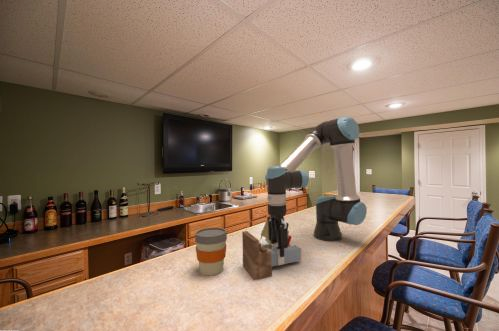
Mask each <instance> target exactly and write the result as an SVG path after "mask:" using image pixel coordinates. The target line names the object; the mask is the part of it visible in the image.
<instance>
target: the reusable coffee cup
mask: <svg viewBox="0 0 499 331" xmlns="http://www.w3.org/2000/svg"><path fill="white" fill-rule="evenodd" d="M194 234H195V235H194V242H195V245H196V246H195V253H196V259H197V261H198V266H199V272H200V274H201V275H204V276H209V277H210V276H215V275H216V276H217V275H218V274H220V273H222V272H223V271H224V264H225V263H224V262H225V259H226V253H227V240H228V236H227V230H226V229H225V228H222V227H206V228H202V229H201V228H200V229H199V230H197V231H196V232H195V233H194Z"/></svg>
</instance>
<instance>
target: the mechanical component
mask: <svg viewBox="0 0 499 331" xmlns="http://www.w3.org/2000/svg"><path fill="white" fill-rule="evenodd" d="M289 233H290V231H289V230H288V246H289V245H290V243H291V241H292V236H291V235H290V234H289ZM262 238H265V239H264V241H265V242H267V244H268V245H269V246H270V245H271V246H272V243H271V241H269V237H268V220H267V219H266V221H265V223H264V226H263V228H262V230H261V232H260V239H259V242H260V243H261V240H262ZM277 241H278V239H277ZM277 243H278V242H277Z"/></svg>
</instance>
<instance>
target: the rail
mask: <svg viewBox="0 0 499 331" xmlns="http://www.w3.org/2000/svg"><path fill="white" fill-rule="evenodd" d="M269 250H270V251H271V257H272V268H273V267H277V266H279V265H278V264H277V249H272V248H271V249H269ZM300 261H302V248H301V247H300V246H298V245H290V246H288V248H284V264H283V265H286V264H290V263H296V262H300Z"/></svg>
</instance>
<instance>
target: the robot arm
mask: <svg viewBox="0 0 499 331" xmlns="http://www.w3.org/2000/svg"><path fill="white" fill-rule="evenodd" d="M359 135H360V127H359V124H358V123H357V121H356V119H354V117H351V116H342V117H338V118H335V119H330V120H326V121H323V122H321V123H319V124H318V125H316V126H315V127H314V128H312V129H311V130H310V131H309V132H308V133H307V134H306V135H305V136H304V140H303V141H301V143H300V144H299V145H298V146H297V147H296V148H295V149H294V150H293V151H292V152H291V153H290V154H289V155H287V157H286V158H284V160H283V161H282V162H281V163H280V164H279V165H278V166H268V167H267V171H266V174H265V176H264V180H265V182H266V184H267V185H266V186H267V188H266V189H267V197H266V199H267V204H268V205H267V213H268V215H270V216H267V217H266V221H267V220H268V237H269V241H271V243H272V245H271V249H277V264H278V265H277V266H281V265H285V264H284V248H288V235H289V234H288V231H289V223H288V222H286V221H285V215H286V214H287V205H286V204H287V190H288V189H301V188H306V187H307V186H308V184H309V182H310V178H309V177H310V176H309V173H307V171H304V170H299V169H298V168H299V166H301V165H302V164H303V162H305V161H306V159H307V158H308V157H309V156H310V155H311V154H312V153H313V152H314V151H315V150H316V149H319V148H320V147H321V146H323V145H325V144H329V147H330V148H332V149H333V157H334V168H335V176H336V186H337V187H336V188H337V195H326V196H325V195H324V196H318V197H317V198H316V200H315V215H316V217H315V218H316V219H315V220H316V223H315V226H314V230H313V237H314V238H315V239H318V240H320V241H328V242H335V241H337V242H338V241H340V240H342V238H343V234H342V232H341V228H340V225H339V222H340V223H343V224H348V225H349V226H350V225H354V226H359V225H360V224H362V223H363V222H364V221H365V220H366V216H367V208H368V207H367V205H366V204H365V203H364V202H362V201H361V196H359V194H357V186H356V177H355V176H356V175H355V165H354V164H355V163H354V156H353V155H354V154H353V146H354V145H355V144H356V140H357V139H358V138H359ZM297 169H298V170H297ZM277 239H278V241H277ZM277 242H278V243H277Z"/></svg>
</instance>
